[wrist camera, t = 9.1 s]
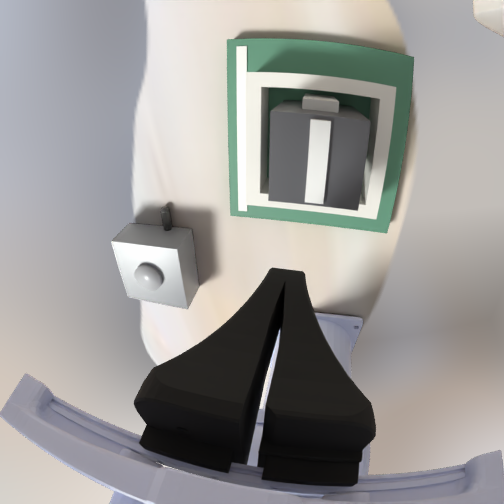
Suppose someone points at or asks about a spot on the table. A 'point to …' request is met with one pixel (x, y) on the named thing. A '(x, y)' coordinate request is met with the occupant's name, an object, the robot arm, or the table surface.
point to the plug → (317, 152)
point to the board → (294, 88)
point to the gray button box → (158, 262)
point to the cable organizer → (490, 14)
